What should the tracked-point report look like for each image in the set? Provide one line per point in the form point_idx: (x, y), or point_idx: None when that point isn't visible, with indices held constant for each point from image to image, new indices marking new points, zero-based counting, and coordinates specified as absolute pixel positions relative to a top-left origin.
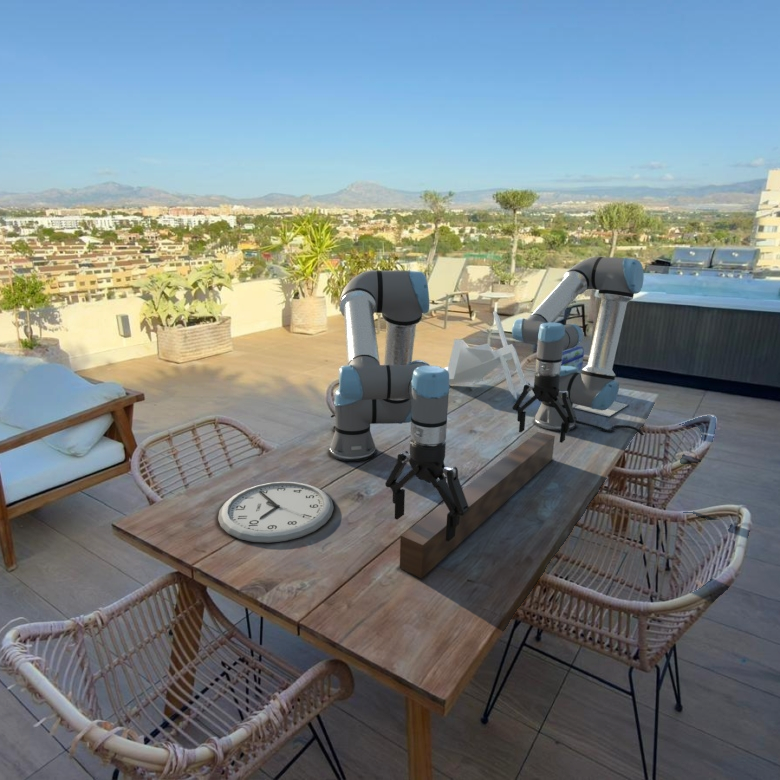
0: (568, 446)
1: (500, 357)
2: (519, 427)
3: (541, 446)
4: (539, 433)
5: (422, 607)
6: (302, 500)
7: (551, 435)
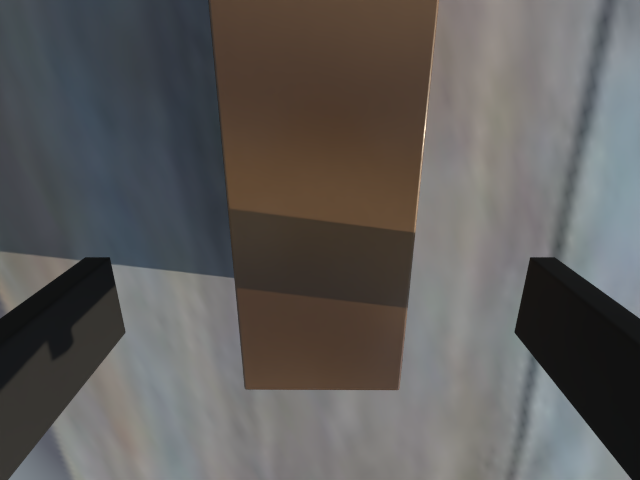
0: (272, 459)
1: None
2: (586, 282)
3: (222, 71)
4: (372, 367)
5: None
6: None
7: (271, 384)
